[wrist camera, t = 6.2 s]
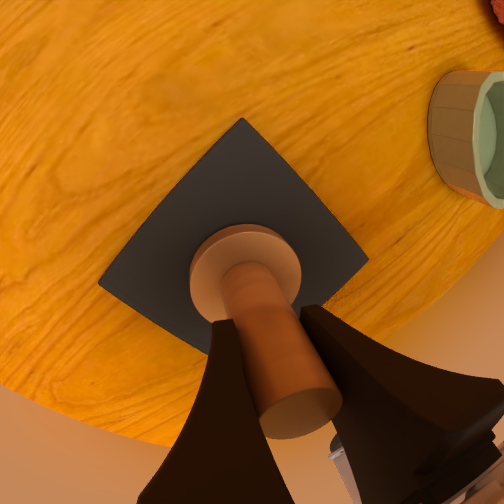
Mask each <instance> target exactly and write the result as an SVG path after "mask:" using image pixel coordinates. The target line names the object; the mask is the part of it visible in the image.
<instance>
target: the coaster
mask: <svg viewBox="0 0 504 504" xmlns="http://www.w3.org/2000/svg"><path fill="white" fill-rule="evenodd" d="M241 224H254V225H260V226H263V227H266V228H269V229H271V230H273V231H274V232H276V233H278V234H279V235H280V236H281V237H282V238H283V239H284V240H285V241H286V242H287V243H288V245H289V246H290V247H291V248H292V249H293V251H294V252H295V254H296V256H297V258H298V260H299V263H300V267H301V283H300V288H299V291H298V294H297V296H296V298H295V300H294V301H293V303H292V304H291V306H292V308H293V310H294V312H295V313H296V315H297V317H298V319H299V320H300V307H302V306H307V305H313V304H318V305H319V306H322V305H323V304H325V303H326V302H327V301H328V300H329V299H330V298H331V297H332V296H333V295H334V294H335V293H336V292H337V291H338V290H339V289H340V288H341V287H342V286H343V285H344V284H345V283H346V282H347V281H348V280H349V279H350V278H351V277H352V276H353V275H355V274H356V273H357V272H358V271H359V269H360V268H361V267H362V266H363V265H364V264H365V263H366V262H367V261H368V260H369V258H368V257H367V256H366V254H365V253H364V252H363V251H362V249H361V248H360V247H359V246H358V244H357V243H356V242H355V241H354V239H353V238H352V237H351V236H350V235H349V233H348V232H347V231H346V230H345V228H344V227H343V226H342V225H341V224H340V222H339V221H338V220H337V219H336V218H335V216H334V215H333V214H332V213H331V212H330V211H329V209H328V208H327V207H326V206H325V205H324V204H323V202H322V201H321V200H320V199H319V198H318V197H317V196H316V194H315V193H314V192H313V191H312V190H311V189H310V188H309V186H308V185H307V184H306V183H305V182H304V181H303V180H302V179H301V178H300V176H299V175H298V174H297V173H296V172H295V171H294V170H293V169H292V168H291V167H290V166H289V164H288V163H287V162H286V161H285V160H284V159H283V158H282V157H281V156H280V155H279V154H278V153H277V152H276V151H275V150H274V149H273V148H272V146H271V145H270V144H269V143H268V142H267V141H266V140H265V139H264V138H263V137H262V136H261V135H260V134H259V133H258V132H257V131H256V130H255V129H254V128H253V127H252V126H251V125H250V124H249V123H248V122H247V121H246V120H245V119H244V118H241V119H240V120H239V121H237V122H236V123H235V124H234V125H233V126H232V127H231V128H230V129H229V130H228V131H227V132H226V133H225V134H224V135H223V136H222V137H221V138H220V139H219V140H218V141H217V142H216V143H215V144H214V145H213V146H212V147H211V148H210V149H209V150H208V151H207V152H206V154H205V155H204V156H203V157H202V158H201V159H200V160H199V161H198V162H197V163H196V164H195V165H194V166H193V167H192V168H191V169H190V170H189V172H188V173H187V174H186V175H185V176H184V177H183V178H182V179H181V180H180V181H179V183H178V184H177V185H176V186H175V187H174V188H173V189H172V190H171V191H170V193H169V194H168V195H167V196H166V197H165V198H164V199H163V201H162V202H161V203H160V204H159V205H158V206H157V208H156V209H155V210H154V211H153V212H152V213H151V215H150V216H149V217H148V218H147V219H146V221H145V222H144V223H143V224H142V225H141V227H140V228H139V229H138V230H137V232H136V233H135V234H134V235H133V236H132V238H131V239H130V240H129V241H128V243H127V244H126V245H125V247H124V248H123V249H122V250H121V252H120V253H119V254H118V255H117V257H116V258H115V259H114V261H113V262H112V263H111V265H110V266H109V267H108V269H107V270H106V271H105V273H104V274H103V275H102V277H101V278H100V279H99V281H98V284H99V285H100V286H101V287H103V288H104V289H105V290H107V291H108V292H110V293H111V294H112V295H114V296H115V297H117V298H118V299H120V300H121V301H122V302H124V303H125V304H127V305H128V306H130V307H131V308H133V309H134V310H136V311H137V312H139V313H140V314H142V315H143V316H145V317H146V318H148V319H149V320H151V321H152V322H154V323H156V324H157V325H159V326H160V327H162V328H163V329H165V330H167V331H168V332H170V333H171V334H173V335H175V336H176V337H178V338H180V339H181V340H183V341H185V342H186V343H188V344H190V345H191V346H193V347H195V348H196V349H198V350H200V351H202V352H203V353H205V354H207V355H209V351H210V345H211V337H212V326H211V324H212V323H211V322H209V321H208V320H207V319H205V318H204V317H203V316H202V315H201V314H200V313H199V311H198V310H197V309H196V307H195V305H194V303H193V300H192V298H191V293H190V282H189V272H190V266H191V262H192V260H193V257H194V255H195V253H196V252H197V250H198V249H199V247H200V246H201V245H202V244H203V243H204V242H205V241H206V240H207V239H208V238H209V237H210V236H212V235H213V234H215V233H216V232H218V231H220V230H222V229H225V228H227V227H230V226H234V225H241Z"/></svg>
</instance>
